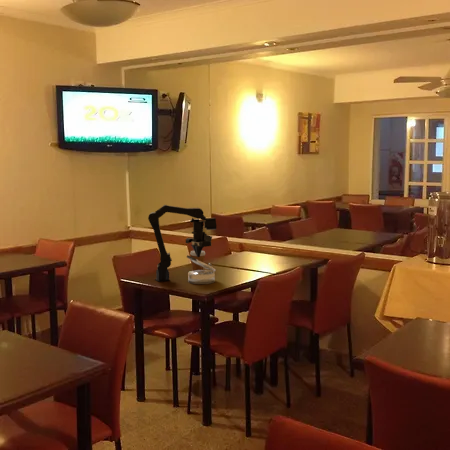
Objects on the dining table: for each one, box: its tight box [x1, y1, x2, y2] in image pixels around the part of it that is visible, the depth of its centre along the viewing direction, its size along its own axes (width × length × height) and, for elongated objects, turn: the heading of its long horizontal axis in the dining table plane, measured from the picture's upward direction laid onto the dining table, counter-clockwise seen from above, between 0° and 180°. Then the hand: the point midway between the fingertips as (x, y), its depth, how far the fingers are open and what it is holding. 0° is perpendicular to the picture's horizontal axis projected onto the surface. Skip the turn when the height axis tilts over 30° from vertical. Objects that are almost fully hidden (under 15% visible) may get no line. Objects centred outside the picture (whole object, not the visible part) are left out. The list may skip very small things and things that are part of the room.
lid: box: [186, 255, 216, 273], centre depth 328 cm, size 18×15×3 cm
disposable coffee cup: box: [189, 250, 206, 271], centre depth 359 cm, size 10×10×12 cm
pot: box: [187, 269, 216, 285], centre depth 329 cm, size 15×15×5 cm
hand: (198, 257), depth 332 cm, fingers closed
